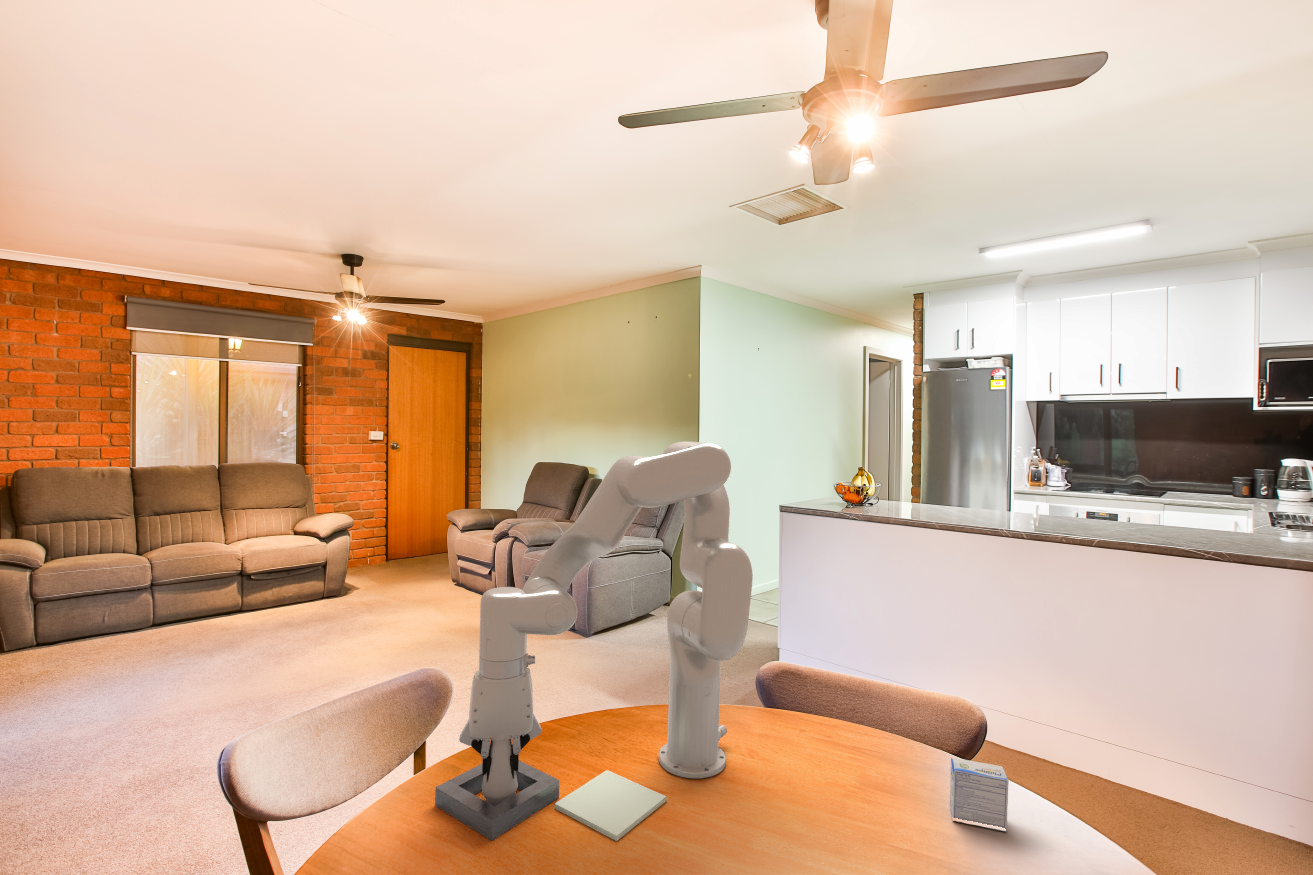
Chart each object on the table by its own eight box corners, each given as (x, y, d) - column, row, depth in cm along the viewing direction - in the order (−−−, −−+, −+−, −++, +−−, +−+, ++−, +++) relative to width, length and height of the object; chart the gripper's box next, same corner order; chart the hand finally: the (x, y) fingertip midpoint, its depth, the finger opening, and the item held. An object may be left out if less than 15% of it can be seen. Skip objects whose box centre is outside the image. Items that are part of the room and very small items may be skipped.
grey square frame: (503, 769, 111) (503, 752, 111) (558, 797, 103) (559, 779, 103) (434, 805, 100) (435, 786, 100) (491, 840, 92) (492, 820, 92)
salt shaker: (510, 813, 98) (512, 731, 98) (475, 810, 99) (477, 729, 99) (522, 792, 104) (523, 715, 104) (489, 789, 105) (490, 712, 105)
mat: (606, 774, 111) (606, 769, 111) (666, 800, 103) (666, 796, 103) (554, 808, 100) (554, 803, 100) (616, 840, 93) (616, 835, 93)
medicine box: (1001, 818, 101) (1003, 765, 101) (1007, 834, 97) (1009, 779, 97) (948, 807, 104) (950, 755, 104) (952, 822, 100) (953, 769, 100)
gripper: (550, 653, 107) (548, 759, 107) (451, 660, 103) (449, 770, 103) (555, 669, 100) (552, 782, 100) (449, 677, 96) (446, 796, 96)
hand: (500, 775), depth 102 cm, fingers closed on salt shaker, 3 cm apart
